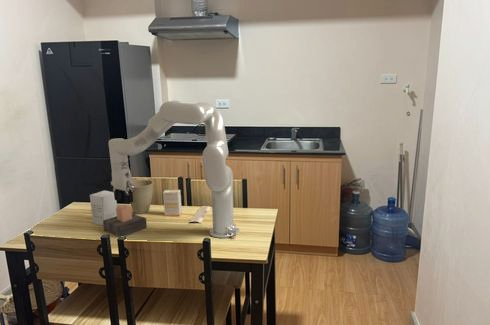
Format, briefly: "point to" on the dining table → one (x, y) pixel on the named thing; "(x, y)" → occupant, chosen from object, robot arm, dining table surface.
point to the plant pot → (142, 196)
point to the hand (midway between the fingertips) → (124, 201)
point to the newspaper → (200, 214)
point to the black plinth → (124, 225)
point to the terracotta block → (124, 213)
